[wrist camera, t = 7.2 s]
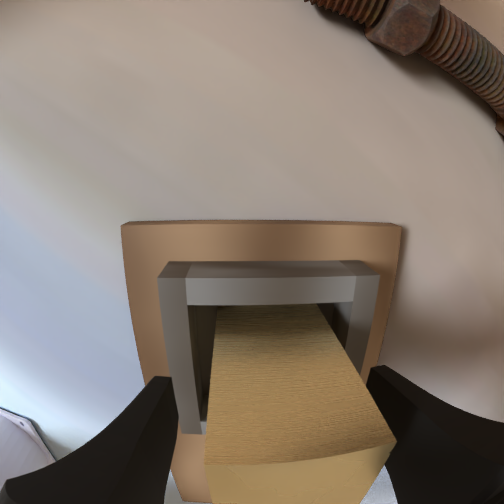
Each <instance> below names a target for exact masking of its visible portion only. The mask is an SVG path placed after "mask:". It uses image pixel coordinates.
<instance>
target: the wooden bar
mask: <svg viewBox="0 0 504 504" xmlns="http://www.w3.org/2000/svg"><path fill="white" fill-rule="evenodd" d="M396 442H397V441H396V439H395V437H394V435H393V433H392V432H391V430H390V428H389V426H388V425H387V423H386V421H385V419H384V417H383V416H382V414H381V412H380V410H379V409H378V407H377V405H376V403H375V402H374V400H373V398H372V396H371V395H370V393H369V391H368V389H367V388H366V386H365V384H364V383H363V381H362V379H361V377H360V376H359V374H358V372H357V371H356V369H355V367H354V365H353V364H352V362H351V360H350V359H349V357H348V355H347V354H346V352H345V350H344V349H343V347H342V345H341V344H340V342H339V340H338V339H337V337H336V335H335V334H334V332H333V330H332V329H331V327H330V325H329V324H328V322H327V320H326V319H325V317H324V315H323V314H322V312H321V311H320V309H319V307H318V306H317V304H316V303H311V304H281V305H218V309H217V319H216V328H215V338H214V348H213V358H212V368H211V379H210V390H209V402H208V414H207V426H206V439H205V453H204V468H205V473H206V478H207V482H208V487H209V491H210V495H211V500H212V504H359V503H360V502H361V501H362V499H363V498H364V496H365V495H366V493H367V492H368V490H369V489H370V487H371V485H372V484H373V482H374V481H375V479H376V477H377V476H378V474H379V473H380V471H381V469H382V468H383V466H384V464H385V462H386V461H387V459H388V457H389V455H390V453H391V452H392V450H393V448H394V446H395V444H396Z"/></svg>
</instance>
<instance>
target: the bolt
mask: <svg viewBox="0 0 504 504" xmlns="http://www.w3.org/2000/svg"><path fill="white" fill-rule="evenodd" d="M307 1H309V0H304V2H307ZM310 2H311V5H313V4H315V3H317V6H318V7H320V6H324V8H325V10H326V9H329V8H331V11H332V13H333V12H335V11H338V13H339V15H342V14H345V17H346V18H348V17H352V19H353V21H355V20H358V21H359V23H360V24H362V23H365V30H364V31H365V36H366V38H367V39H368V40H369V41H371V42H373V43H375V44H377V45H379V46H381V47H383V48H385V49H387V50H389V51H391V52H394V53H396V54H399V55H401V56H407V55H410V54H412V53H414V52H416V53H420V55H421V56H423V57H426V59H427V60H430V61H431V62H433V63H435V64H436V65H438V66H439V67H441V68H442V69H443V70H446V71H447V73H449V74H451V75H452V76H453V77H455V78H456V79H458V80H459V81H461V83H463V84H465V85H466V86H467V87H468V88H470V89H471V90H472V91H474V93H476V94H477V95H478V96H480V97H481V98H482V99H483V100H485V101H486V102H487V103H488V104H489V105H490V106H491V108H492V109H493V110H494V111H495V112H496V113H497V118H496V130H497V131H498V132H499V133H500V134H502V135H503V136H504V55H503V54H502V53H501V52H500V51H499V50H498V49H497V48H496V47H495V46H494V45H492V44H491V43H490V42H489V41H488V40H487V39H486V38H485V37H483V36H482V35H481V34H479V32H477V31H476V30H475V29H473V28H472V27H471V26H469V25H468V24H467V23H466V22H464V21H462V20H461V19H460V18H458V17H457V16H456V15H455V14H452V13H451V11H449V10H447V9H446V8H445V7H444V6H441V5H440V0H310Z"/></svg>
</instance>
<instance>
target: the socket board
mask: <svg viewBox="0 0 504 504" xmlns="http://www.w3.org/2000/svg"><path fill="white" fill-rule="evenodd" d="M401 230H402V227H401V226H398V225H395V224H392V223H377V222H347V221H304V220H178V221H135V222H127V223H125V224H123V225H121V237H122V249H123V259H124V268H125V277H126V285H127V292H128V299H129V306H130V312H131V318H132V324H133V330H134V335H135V341H136V346H137V351H138V356H139V360H140V365H141V369H142V374H143V378H144V382H145V386H146V385H147V384H148V382H149V381H150V380H151V379H152V378H153V377H154V376H166V377H172V383H173V388H174V394H175V399H176V404H177V409H178V414H179V421H178V431H177V440H176V445H175V449H174V454H173V458H172V462H171V467H170V469H171V472H172V475H173V477H174V480H175V483H176V485H177V488H178V490H179V493H180V495H181V498H182V500H183V501H188V502H203V503H212V500H211V495H210V491H209V487H208V482H207V478H206V473H205V468H204V453H205V439H206V426H207V414H208V402H209V390H210V379H211V368H212V358H213V348H214V338H215V328H216V319H217V309H218V305H281V304H311V303H316V304H317V306H318V307H319V309H320V311H321V312H322V314H323V315H324V317H325V319H326V320H327V322H328V324H329V325H330V327H331V329H332V330H333V332H334V334H335V335H336V337H337V339H338V340H339V342H340V344H341V345H342V347H343V349H344V350H345V352H346V354H347V355H348V357H349V359H350V360H351V362H352V364H353V365H354V367H355V369H356V371H357V372H358V374H359V376H360V377H361V379H362V381H363V383H364V384H365V386H366V383H367V379H368V376H369V372H370V368H371V367H376V365H377V362H378V358H379V354H380V350H381V346H382V342H383V338H384V333H385V329H386V324H387V320H388V315H389V310H390V305H391V300H392V294H393V288H394V282H395V276H396V270H397V263H398V256H399V248H400V239H401Z"/></svg>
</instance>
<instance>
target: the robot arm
mask: <svg viewBox="0 0 504 504" xmlns="http://www.w3.org/2000/svg"><path fill="white" fill-rule="evenodd" d="M366 388H367V389H368V391H369V393H370V395H371V396H372V398H373V400H374V402H375V403H376V405H377V407H378V409H379V410H380V412H381V414H382V416H383V417H384V419H385V421H386V423H387V425H388V426H389V428H390V430H391V432H392V433H393V435H394V437H395V439H396V441H397V442H396V444H395V446H394V448H393V450H392V452H391V453H390V455H389V457H388V459H387V461H386V462H385V464H384V465H385V467H386V469H387V471H388V474H389V476H390V479H391V482H392V485H393V488H394V492H395V495H396V499H397V502H398V504H504V423H502V422H497V421H493V420H489V419H486V418H482V417H479V416H476V415H473V414H471V413H468V412H466V411H463V410H461V409H459V408H456V407H454V406H452V405H450V404H448V403H446V402H444V401H442V400H441V399H439V398H437V397H435V396H433V395H432V394H430V393H428V392H427V391H425V390H423V389H422V388H420V387H419V386H417V385H415V384H414V383H412V382H411V381H409V380H408V379H406V378H405V377H403V376H402V375H400V374H398V373H397V372H395V371H394V370H392V369H391V368H389V367H387V366H385V365H382V366H376V367H371V368H370V372H369V376H368V379H367V383H366ZM178 421H179V414H178V409H177V404H176V399H175V394H174V388H173V383H172V377H166V376H154V377H153V378H152V379H151V380H150V381H149V382H148V384H147V385H146V386H145V387H144V388H143V390H142V391H141V392H140V393H139V394H138V395H137V396H136V398H135V399H134V400H133V401H132V402H131V403H130V404H129V405H128V406H127V407H126V408H125V409H124V410H123V412H122V413H121V414H120V415H119V416H118V417H116V418H115V419H114V420H113V421H112V422H111V423H110V424H109V425H108V426H107V427H106V428H105V429H104V430H102V431H101V432H100V433H99V434H98V435H96V436H95V437H94V438H93V439H91V440H90V441H89V442H87V443H86V444H84V445H83V446H82V447H80V448H78V449H77V450H75V451H74V452H72V453H70V454H69V455H67V456H65V457H64V458H62V459H60V460H58V461H55V459H54V458H53V456H52V455H51V453H50V452H49V450H48V449H47V447H46V446H45V444H44V443H43V441H42V440H41V438H40V437H39V435H38V433H37V432H36V430H35V428H34V427H33V425H32V423H31V422H30V421H29V420H27V419H25V418H22V417H20V416H17V415H14V414H12V413H9V412H7V411H5V410H2V409H0V504H164V496H165V490H166V485H167V480H168V476H169V471H170V467H171V462H172V458H173V454H174V449H175V445H176V440H177V431H178Z"/></svg>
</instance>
